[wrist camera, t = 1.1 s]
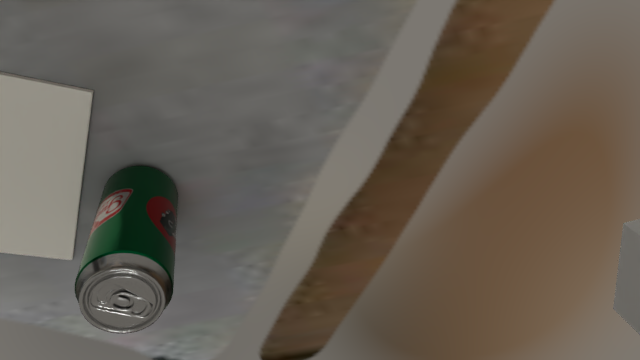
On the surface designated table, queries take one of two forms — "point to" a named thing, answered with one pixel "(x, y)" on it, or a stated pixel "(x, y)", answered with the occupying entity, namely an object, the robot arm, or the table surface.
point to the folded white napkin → (41, 164)
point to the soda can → (130, 252)
